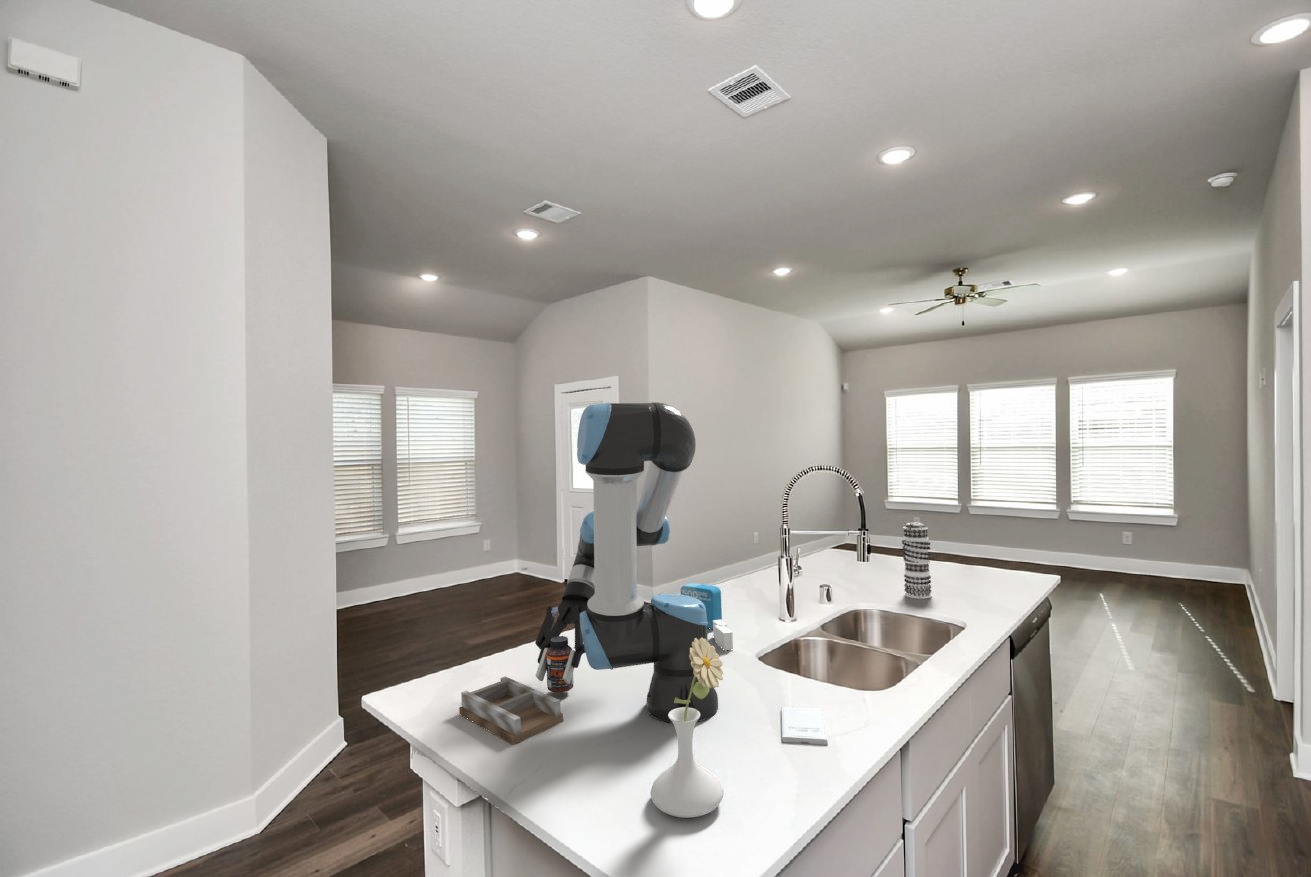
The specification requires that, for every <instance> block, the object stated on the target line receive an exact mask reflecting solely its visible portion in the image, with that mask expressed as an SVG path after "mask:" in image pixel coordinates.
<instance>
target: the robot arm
mask: <svg viewBox="0 0 1311 877" xmlns="http://www.w3.org/2000/svg"><path fill="white" fill-rule="evenodd" d="M696 445H697V444H696V435H695V432H694V429H693V427H692V425H691V423H690V421H689V420H688V419H687V417H686V416H685V415H684V414H683V413H682V412H681V411H680V410H678V409H677V408H676V407H674V406H673V405H670V404H667V403H664V402H606V403H605V402H604V403H596V404H590V405H588V406H586V407H585V408H584V409H583V411H582V413H581V416H580V420H579V426H578V431H577V439H576V450H577V452H576V457H577V462H578V463H579V464H580V465H583V466H585V470H584V471H585V473H586V474H587V475H588V476H589V477H590V478H591V479H592V481H593V488H592V489H593V511H591V512H589V513H587V514H586V515H585V516H584V518H583V520H582V523H581V526H580V530H579V541H578V544H577V551H576V554H575V558H574V561H573V564H572V568H571V570H570V573H569V575H568V579H567V581H566V583H567V584H566V585H565V588H564V591H563V594H562V597H561V598H562V599H561V602H560V603H559V604H558V605H557V606H555V607H551V606H550V605H549V606H547V608H546V614H545V617H544V620H543V621H542V625H541V627H540V630H539V633H538V634H537V637H536V639H535V642H534V643H535V645H536V646H537V647H538V649H539V650H540V652H539V654H538V657H537V663H538V667H537V670H536V673H535V677H536V679H538V681H539V682H544V679H545V676H546V674H547V659H546V652H547V650H548V649H549V648H550V646H551V645H550V640H551V638H553V637H557V636H561V634H562V632H563V630H564V629H566V628H567V626H568V625H571V624H572V625H574V646H573V649H572V650H571V652H570V655H569V658H568V662H567V665H566V668H565V672H564V675H563V679H564V681H565V682H566V683H567V684H570V682H571V678H572V675H573V676H574V670H575V669H577V668H578V667H579V666H580V663H581V658H582V655H583V654H585V656H586V660H587V663H588V665H589V666H590V668H591V669H593V670H597V671H599V670H601V671H602V670H614V669H618V668H626V667H633V666H640V665H642V666H643V665H647V664H653V672H652V676H651V681H650V684H649V688H648V692H647V695H646V710H647V713H648V714H649V715H650V716H652V717H653V718H654V719H657V720H659V721H662V722H666V723H672V724H673V722H672V721H671V720H670V719H669V717H668V714H669V712H670V711H671V710H673V709H676V708H681V707H686V704H682V703H674V700H675V697H676V698H678V699H681V700H688V697H689V693H690V689H691V685H692V681H693V678H694V673H693V671H694V669H693V667H692V666H691V660H690V658H689V655H690V648H692V642H694V639H695V638H697V639H698V641H699V640H700V639H701V638H703V639H706V640H707V642H708V643H709V641H708V629H707V625H708V622H707V616H706V608H705V605H704V604H703V603H702V602H701V601H700V600H698V599H696V598H693V597H690V596H685V595H681V594H679V593H658V594H655V595H653V596H652V597H651V600H650V604H645V601H644V598H643V597H642V596H641V595H639V593H638V590H637V588H638V586H637V585H638V584H637V579H638V578H637V576H638V575H637V573H638V572H637V571H638V570H637V566H638V565H637V563H638V562H637V560H638V559H637V556H638V555H637V552H638V551H637V550H638V548H637V547H647V546H651V547H652V546H656V545H663V544H664V545H665V544H666V543H667V542H668V541H669V539H670V533H671V532H670V528H671V527H670V522H669V518H668V517H667V515H668V513H669V510H670V506H671V504H672V501H673V499H674V496H675V494H676V491H677V489H678V486H679V483H680V480H681V477H682V475H683V473H684V471H686V470H687V469H688V468H690V466H691V464H692V462H693V460H694V457H695V453H696ZM645 462H649V463H648V467H647V470H646V473H645V476H644V481H643V483H642V488H641V490H640V495H639V498H638V501H637V480H638V478H639V477H640V476H641V475H642V474H644V472H645ZM558 613H559V615H558V616H557V614H558ZM555 618H556V622H555ZM697 682H699V681H698V679H697V677H696V678H695V682H694V685H695V684H696V683H697ZM693 687H694V686H693ZM692 691H693V690H692ZM718 696H719V695H718V693H717V690H716V689H715V688H713V687H711V688H709V693H708V695H707V696H706V697H705V698H703V699H699V698H698V697H696V696H695V695H694V694H693V692H692V694H691V698H690V701H691V702H690V703H689V705H688V708H693V709H696V710H697V711H699V712H700V717H699V719H698V720H697V722H701V721H703V720H707V719H709V718H711V717H713V715H715V714H716V713H717V712H718V710H719V697H718ZM697 722H696V723H697Z"/></svg>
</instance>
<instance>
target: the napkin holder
mask: <svg viewBox="0 0 1311 877" xmlns="http://www.w3.org/2000/svg"><path fill="white" fill-rule="evenodd" d="M727 626H728V625H727V623H726V622H724V621H723V619H722V620H713V629H712V632H713V633H712V634H713V636H714V638H713V639H714V640H715V642H716V643H717V644H718V645H719V646H720V647H722V648H723V649H724V650H725V651H724V650H723V649H722V648H721V649H722V650H723V651H724V652H727V651H726V650H731V649H733V650H734V641H733V638H734V637H733V631H732V630H730V629H729V628H728V627H727ZM715 642H714V643H715ZM716 643H715V644H716ZM717 644H716V645H717ZM718 645H717V646H718ZM719 646H718V647H719ZM720 647H719V648H720Z"/></svg>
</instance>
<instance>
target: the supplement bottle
mask: <svg viewBox="0 0 1311 877" xmlns="http://www.w3.org/2000/svg"><path fill="white" fill-rule="evenodd" d="M568 638H569V637H568V636H563V635H559V636H557V637H553V638H551V640H550V645H551V646H550V648H549V649H548V650H547V652H546V659H547V670H546V684H547V685H546V686H547V690H548V691H549V692H551V693H555V694H560V693H561V694H562V693H565V692H569V691H570V690H572V689H573V688H574V674H573V675H572V678H571V682H570V684H567V683H566V682H565V681H564V679H563V675H564V672H565V668H566V665H567V662H568V658H569V655H570V652H571V650H573V648H572V647H571V646H570V645H569V639H568Z"/></svg>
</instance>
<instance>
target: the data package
mask: <svg viewBox="0 0 1311 877" xmlns="http://www.w3.org/2000/svg"><path fill="white" fill-rule="evenodd" d="M680 595H685V596H690V597H693V598H696V599H698V600H700V601H701V602H702V603H703V604H704V605H705V608H706V616H707V622H708V625H707V628H710V629H712V630H713V620H722V621H723V613H722V591H721V588H720V587H718V586H716V585H710V584H702V583H695V582H690V583H687V584H684V585H682V586H681V588H680ZM710 629H709V630H710Z"/></svg>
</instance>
